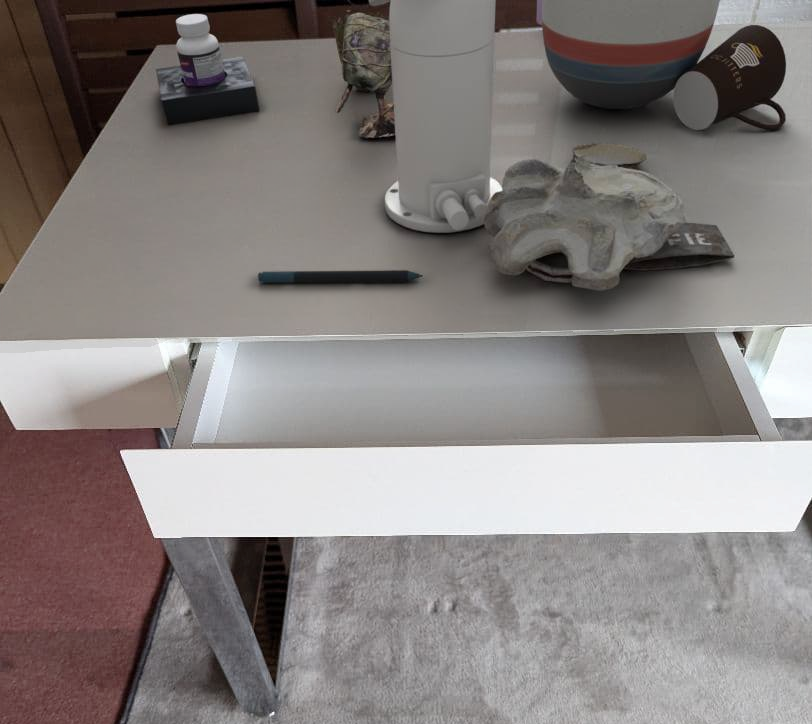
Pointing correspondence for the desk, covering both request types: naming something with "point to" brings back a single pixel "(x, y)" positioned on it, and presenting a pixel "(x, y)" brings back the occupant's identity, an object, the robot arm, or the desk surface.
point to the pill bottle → (198, 51)
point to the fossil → (580, 218)
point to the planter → (624, 46)
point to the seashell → (610, 154)
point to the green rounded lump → (340, 36)
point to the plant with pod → (369, 69)
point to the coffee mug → (733, 80)
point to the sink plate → (207, 94)
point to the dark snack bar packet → (663, 253)
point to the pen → (338, 276)
